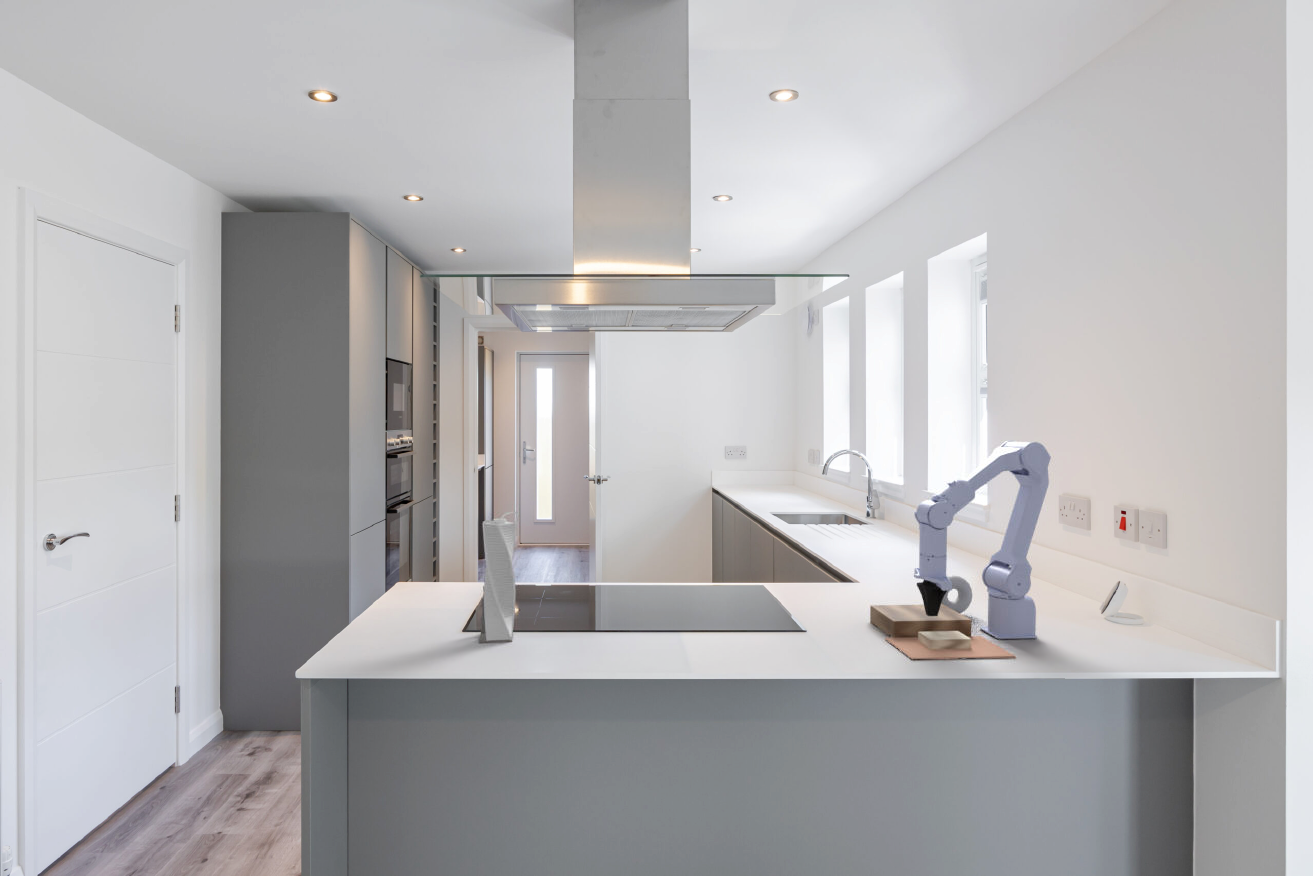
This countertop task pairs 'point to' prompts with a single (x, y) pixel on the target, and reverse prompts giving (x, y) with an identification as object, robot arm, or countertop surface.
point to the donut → (959, 594)
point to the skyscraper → (498, 581)
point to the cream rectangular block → (944, 640)
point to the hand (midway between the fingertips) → (931, 615)
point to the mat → (977, 650)
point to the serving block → (917, 620)
